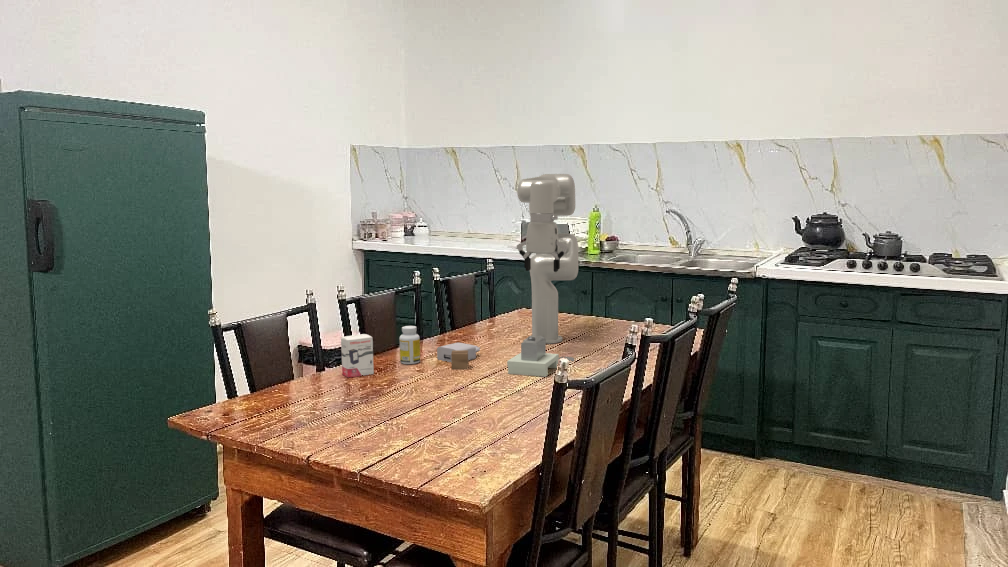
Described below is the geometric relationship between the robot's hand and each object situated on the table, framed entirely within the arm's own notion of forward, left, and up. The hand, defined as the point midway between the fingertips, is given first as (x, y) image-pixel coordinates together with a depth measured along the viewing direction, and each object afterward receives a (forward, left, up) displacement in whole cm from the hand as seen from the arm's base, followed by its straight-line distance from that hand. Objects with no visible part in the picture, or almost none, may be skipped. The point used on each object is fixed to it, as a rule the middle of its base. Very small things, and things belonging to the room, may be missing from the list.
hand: (541, 270), depth 265 cm
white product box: (+43, -45, -28) cm, 68 cm away
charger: (+12, -23, -29) cm, 39 cm away
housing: (+21, +4, -24) cm, 32 cm away
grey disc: (+5, +10, -29) cm, 31 cm away
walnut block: (+25, -19, -28) cm, 42 cm away
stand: (+21, +4, -28) cm, 35 cm away
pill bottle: (+24, -37, -28) cm, 53 cm away
